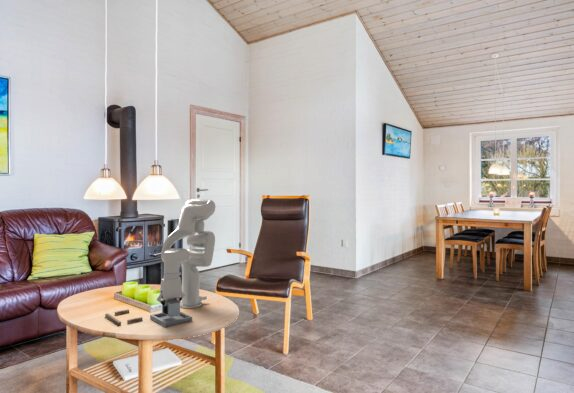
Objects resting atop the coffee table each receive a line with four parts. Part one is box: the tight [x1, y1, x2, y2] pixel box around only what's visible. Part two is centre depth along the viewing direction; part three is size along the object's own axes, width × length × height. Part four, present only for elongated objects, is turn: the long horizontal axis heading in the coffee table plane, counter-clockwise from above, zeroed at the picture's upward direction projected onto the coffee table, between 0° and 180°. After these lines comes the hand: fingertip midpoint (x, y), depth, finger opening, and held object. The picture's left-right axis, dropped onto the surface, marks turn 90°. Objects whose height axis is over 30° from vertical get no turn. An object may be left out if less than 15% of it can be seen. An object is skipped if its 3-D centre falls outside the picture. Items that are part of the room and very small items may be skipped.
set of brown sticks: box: [104, 309, 143, 327], centre depth 202 cm, size 12×17×2 cm
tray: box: [149, 310, 193, 328], centre depth 202 cm, size 14×16×2 cm
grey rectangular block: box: [161, 299, 181, 317], centre depth 201 cm, size 5×9×7 cm, turn 43°
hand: (170, 312), depth 201 cm, fingers closed on grey rectangular block, 5 cm apart
